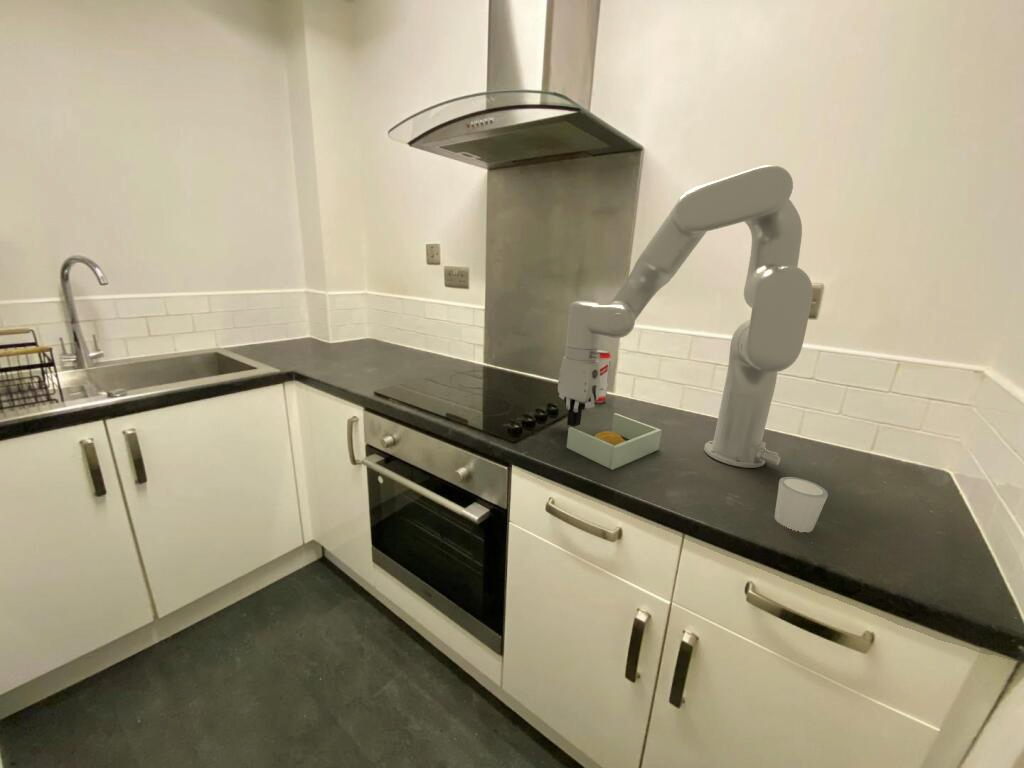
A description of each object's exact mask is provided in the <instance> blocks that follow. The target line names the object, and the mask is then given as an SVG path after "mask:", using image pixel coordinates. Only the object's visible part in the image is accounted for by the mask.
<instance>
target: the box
mask: <svg viewBox="0 0 1024 768" xmlns="http://www.w3.org/2000/svg"><path fill="white" fill-rule="evenodd" d="M567 431H568V432H567V439H566V448H567V449H568V450H570V451H573V452H575V453H577V454H579V455H581V456H583V457H584V458H587V459H589V460H591V461H594V462H595V463H598V464H599V465H602V466H603V467H606V468H607V469H610V470H612V471H613V470H616V469H617V468H620V467H622V466H624V465H627V464H629V463H632V462H633V461H636V460H639V459H640V458H643V457H645V456H647V455H650V454H652V453H654V452H656V451H658V450H659V449H660V443H661V437H662V429H660V428H658V427H655V426H652V425H649V424H646V423H644V422H641V421H638V420H635V419H632V418H630V417H629V416H628V417H627V416H624V415H622V414H619V413H616V412H615V413H613V420H612V427H611V432H614V433H617V434H619V435H620V436H621V437H622V438H624V439H628V440H625V442H622V443H620V444H617V445H615V446H614V445H612V444H610V443H607V442H605V441H603V440H600V439H598V438H596V437H594V436H595V435H594V436H593V435H592V434H588V433H586V432H585V431H582V430H579V429H577V428H574V427H571V426H569V427H568V430H567Z"/></svg>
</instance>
